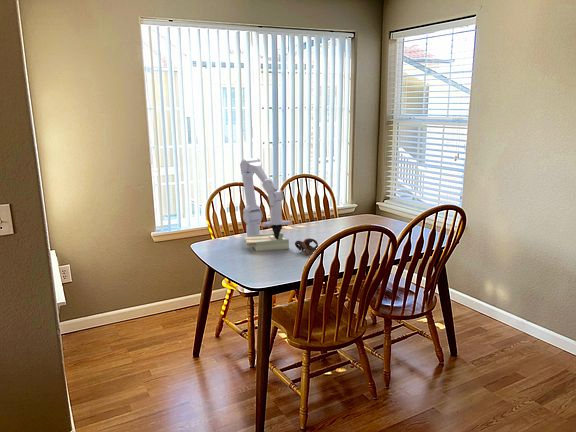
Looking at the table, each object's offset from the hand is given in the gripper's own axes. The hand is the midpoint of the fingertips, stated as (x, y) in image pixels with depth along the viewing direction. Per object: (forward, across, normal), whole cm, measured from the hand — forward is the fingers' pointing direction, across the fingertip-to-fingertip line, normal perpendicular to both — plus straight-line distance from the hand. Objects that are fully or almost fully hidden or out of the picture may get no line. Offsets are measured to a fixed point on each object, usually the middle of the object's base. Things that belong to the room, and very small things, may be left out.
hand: (276, 238), depth 255 cm
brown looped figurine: (+4, +12, -14) cm, 19 cm away
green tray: (+4, -4, 0) cm, 5 cm away
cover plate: (+1, -9, 0) cm, 9 cm away
